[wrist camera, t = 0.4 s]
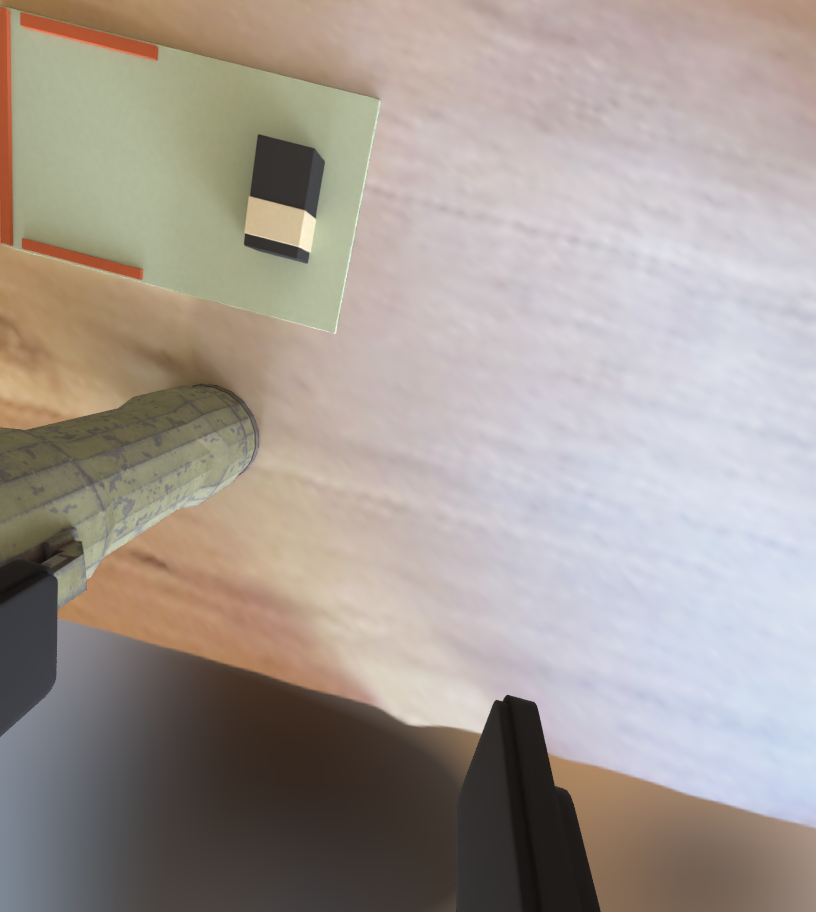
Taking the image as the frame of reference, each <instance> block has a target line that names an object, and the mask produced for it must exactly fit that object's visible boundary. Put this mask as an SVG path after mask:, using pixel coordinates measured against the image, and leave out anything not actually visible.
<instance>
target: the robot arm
mask: <svg viewBox="0 0 816 912" xmlns="http://www.w3.org/2000/svg"><path fill="white" fill-rule="evenodd" d="M57 606H58V580H57V578H56V577H55V576H54V573H53V570H52V569H51V567H48V566H45V565H42V564H38V563H35V562H31V561H27V560H24V559H18V560H15V561H12V562H10V563H8V564H6V565H4V566H2V567H0V737H1V736H2V735H3V734H4V733H5V732H6V731H7V730H8V729H9V728H11V727H12V726H13V725H14V724H15V723H16V722H17V721H19V720H20V719H21V718H22V717H23V716H24V715H25V714H26V713H27V712H28V711H30V710H31V709H32V708H33V707H34V706H35V705H36V704H38V703H39V702H40V701H41V700H42V699H43V698H44V697H45V696H46V695H47V694H48V693H49V691H50V690H51V689H52V687H53V685H54V683H55V680H56V663H57V659H56V657H57ZM456 912H600V907H599V903H598V899H597V895H596V891H595V887H594V883H593V879H592V875H591V871H590V867H589V863H588V859H587V856H586V851H585V848H584V843H583V839H582V836H581V831H580V827H579V823H578V819H577V815H576V811H575V807H574V804H573V802H572V798H571V796H570V794H569V793H568V791H567V790H565V789H563V788H560V787H556V786H555V785H554V781H553V776H552V771H551V767H550V762H549V758H548V753H547V748H546V744H545V739H544V735H543V730H542V726H541V721H540V716H539V712H538V708H537V705H536V704H535V702H532V701H528V700H524V699H521V698H517V697H514V696H510V695H506V696H505V698H504V700H503V702H502V701H499V700H495V702H494V704H493V706H492V709H491V711H490V714H489V716H488V719H487V722H486V724H485V727H484V730H483V732H482V735H481V738H480V740H479V743H478V746H477V748H476V751H475V754H474V756H473V759H472V762H471V764H470V767H469V770H468V772H467V775H466V777H465V780H464V783H463V785H462V788H461V791H460V794H459V798H458V802H457V810H456Z"/></svg>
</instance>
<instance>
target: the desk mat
mask: <svg viewBox="0 0 816 912" xmlns="http://www.w3.org/2000/svg"><path fill="white" fill-rule="evenodd" d="M380 103H381V102H380V99H376V98H372V97H368V96H364V95H360V94H356V93H352V92H348V91H344V90H340V89H336V88H332V87H328V86H324V85H320V84H315V83H311V82H307V81H303V80H299V79H295V78H291V77H287V76H283V75H279V74H275V73H271V72H267V71H263V70H259V69H255V68H251V67H247V66H243V65H239V64H235V63H231V62H227V61H223V60H218V59H214V58H210V57H206V56H202V55H198V54H194V53H190V52H186V51H182V50H178V49H174V48H170V47H166V46H162V45H158V44H154V43H150V42H146V41H142V40H138V39H134V38H130V37H126V36H122V35H117V34H113V33H109V32H105V31H101V30H97V29H93V28H89V27H85V26H81V25H77V24H73V23H69V22H65V21H61V20H57V19H53V18H49V17H45V16H41V15H37V14H33V13H29V12H25V11H21V10H16V9H12V8H8V7H4V6H0V237H1V243H2V246H5V247H9V248H13V249H17V250H20V251H24V252H28V253H32V254H35V255H39V256H43V257H47V258H51V259H54V260H58V261H62V262H66V263H70V264H73V265H77V266H81V267H85V268H89V269H92V270H96V271H100V272H104V273H107V274H111V275H115V276H119V277H123V278H126V279H130V280H134V281H138V282H142V283H145V284H149V285H153V286H157V287H161V288H164V289H168V290H172V291H176V292H179V293H183V294H187V295H191V296H195V297H198V298H202V299H206V300H210V301H214V302H217V303H221V304H225V305H229V306H233V307H236V308H240V309H244V310H248V311H251V312H255V313H259V314H263V315H267V316H270V317H274V318H278V319H282V320H286V321H289V322H293V323H297V324H301V325H305V326H308V327H312V328H316V329H320V330H323V331H327V332H331V333H336V330H337V324H338V319H339V314H340V309H341V304H342V299H343V294H344V288H345V283H346V278H347V273H348V268H349V263H350V258H351V252H352V247H353V242H354V237H355V232H356V227H357V222H358V216H359V211H360V206H361V201H362V196H363V191H364V186H365V181H366V175H367V170H368V165H369V160H370V155H371V150H372V145H373V139H374V134H375V129H376V124H377V119H378V114H379V109H380ZM258 134H260V135H264V136H268V137H272V138H276V139H280V140H284V141H288V142H292V143H296V144H300V145H304V146H308V147H312V148H315V149H316V151H317V152H318V153H319V155H320V156H321V157H322V158H323V160H324V161H325V165H324V171H323V177H322V183H321V189H320V195H319V201H318V206H317V212H316V218H315V219H316V224H315V230H314V236H313V242H312V247H311V252H310V254H309V260H308V264H306V263H302V262H298V261H295V260H291V259H287V258H283V257H279V256H275V255H271V254H268V253H264V252H260V251H257V250H254V249H252V248H249V247H247V246H244V238H245V233H244V229H245V221H246V214H247V206H248V198H249V196H250V191H251V183H252V176H253V168H254V160H255V152H256V144H257V137H258Z"/></svg>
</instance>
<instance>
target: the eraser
mask: <svg viewBox="0 0 816 912" xmlns="http://www.w3.org/2000/svg"><path fill="white" fill-rule="evenodd" d="M324 165H325V161H324V160H323V158H322V157H321V156H320V155H319V153H318V152H317V151H316V149H315V148H312V147H308V146H304V145H300V144H296V143H292V142H288V141H284V140H280V139H276V138H272V137H268V136H264V135H260V134H258V137H257V144H256V152H255V160H254V168H253V176H252V183H251V191H250V196H249V198H248V206H247V214H246V221H245V229H244V233H245V238H244V246H247V247H249V248H252V249H254V250H257V251H260V252H264V253H268V254H271V255H275V256H279V257H283V258H287V259H291V260H295V261H298V262H302V263H306V264H308V260H309V254H310V252H311V247H312V242H313V236H314V230H315V224H316V219H315V218H316V212H317V206H318V201H319V195H320V189H321V183H322V177H323V171H324Z"/></svg>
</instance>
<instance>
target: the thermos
mask: <svg viewBox="0 0 816 912" xmlns="http://www.w3.org/2000/svg"><path fill="white" fill-rule="evenodd" d="M258 447H259V431H258V428H257V425H256V422H255V419H254V416H253V414H252V413H251V411H250V410H249V408H248V407H247V406H246V404H245V403H244V402H243V401H242V400H241V399H240V398H238V397H237V396H236V395H235V394H234V393H232V392H231V391H229V390H226V389H224V388H221V387H219V386H217V385H205V384H200V385H195V386H192V387H188V386H180V387H176V388H171V389H166V390H161V391H157V392H153V393H149V394H144V395H140V396H136V397H133V398H132V399H130V400H129V401H128V402H126V403H125V404H123V405H122V406H121V407H119V408H118V409H113V410H109V411H105V412H101V413H96V414H92V415H88V416H83V417H79V418H75V419H71V420H66V421H62V422H58V423H54V424H49V425H45V426H41V427H36V428H32V429H28V430H20V429H10V428H0V567H2V566H4V565H6V564H8V563H10V562H12V561H15V560H18V559H24V560H27V561H31V562H35V563H38V564H42V565H45V566H48V567H51V569H52V570H53V573H54V576H55V577H56V578H57V580H58V606H57V610H58V609H59V608H61V607H62V606H64V605H65V604H66V603H68V602H69V601H71V600H72V599H74V598H75V597H77V596H78V595H79V594H81V593H82V592H84V591H85V590H87V586H86V580H87V579H88V578H90V577H91V575H92V574H93V572H94V571H95V570H96V568H97V567H98V565H99V564H100V562H101V561H102V559H103V558H104V557H105V556H106V555H108V554H110V553H111V552H113V551H114V550H116V549H117V548H119V547H120V546H122V545H123V544H125V543H127V542H128V541H130V540H131V539H133V538H134V537H136V536H137V535H139V534H140V533H142V532H144V531H145V530H147V529H148V528H150V527H151V526H153V525H154V524H156V523H158V522H159V521H161V520H162V519H164V518H165V517H167V516H168V515H170V514H171V513H173V512H175V511H176V510H178V509H179V508H188V507H195V506H197V505H199V504H200V503H202V502H203V501H205V500H207V499H208V498H210V497H211V496H213V495H214V494H215V493H217V492H218V491H220V490H221V489H223V488H224V487H226V486H227V485H229V484H230V483H232V482H233V481H234V480H235V479H236V477H237V476H238V475H240V474H241V473H243V472H245V471H246V470H247V469H248V467H249V466H250V465H251V463H252V462H253V461H254V460H255V457H256V453H257V450H258Z"/></svg>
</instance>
